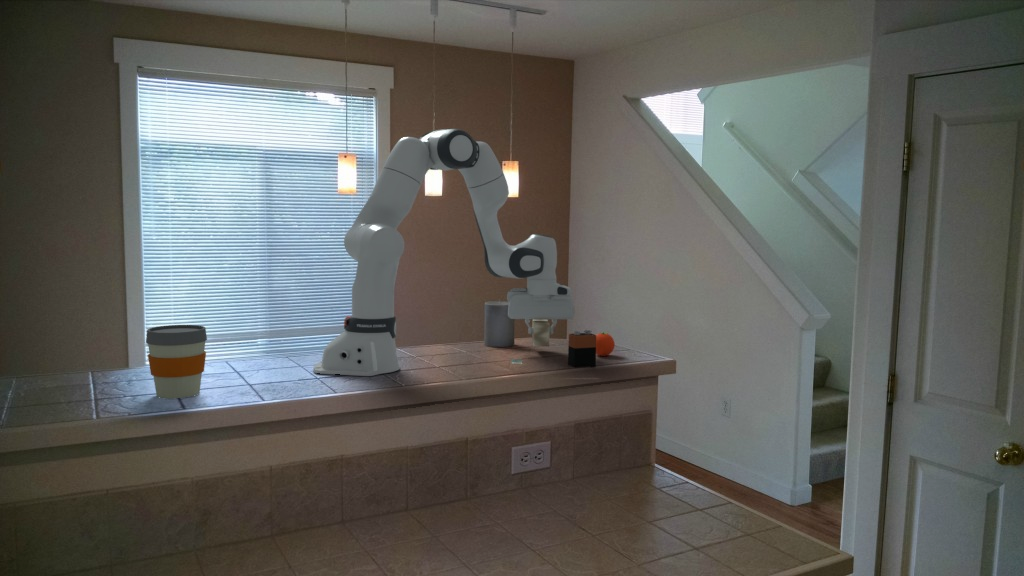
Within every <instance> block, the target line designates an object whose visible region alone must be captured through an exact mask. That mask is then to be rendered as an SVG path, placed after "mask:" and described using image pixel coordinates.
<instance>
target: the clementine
mask: <svg viewBox="0 0 1024 576" xmlns="http://www.w3.org/2000/svg"><path fill="white" fill-rule="evenodd" d="M595 335H596V355H598V356H600V355H601V356H600V357H606V356H609V355H610V354H612V353H613V352H614V349H615V345H616V344H615V340H614V338H613V337H612V336H611V335H610V334H609V333H608V332H604V331H603V332H600V333H597V334H595Z"/></svg>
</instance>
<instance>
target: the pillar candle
mask: <svg viewBox="0 0 1024 576" xmlns="http://www.w3.org/2000/svg"><path fill="white" fill-rule="evenodd" d="M508 306H509V302H508V301H507V300H501V299H499V300H495V301H493V300H492V301H485V302H484V334H483V335H484V346H486V347H491V348H509V347H513V346H514V345H515V319H510V318H509V317H508Z"/></svg>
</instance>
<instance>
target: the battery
mask: <svg viewBox="0 0 1024 576" xmlns="http://www.w3.org/2000/svg"><path fill="white" fill-rule="evenodd" d="M592 332H593V331H592V330H587V329H586V330H584V331H583V332H580V331H574V332H573V333H569V334H568V348H567V349H568V350H567V351H568V354H567V355H568V356H567V365H568V366H570V367H573V368H584V367H589V368H595V367H596V363H597V354H596V335H597V334H594V333H592Z"/></svg>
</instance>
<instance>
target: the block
mask: <svg viewBox="0 0 1024 576" xmlns="http://www.w3.org/2000/svg"><path fill="white" fill-rule="evenodd" d="M550 324H551V323H550V321H549V319H532V325H531V327H533V328H534V331H533V332H534V334H531V337H532V338H531V343H532V345H533V347H550V334H549V330H550V328H551V326H550Z"/></svg>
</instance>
